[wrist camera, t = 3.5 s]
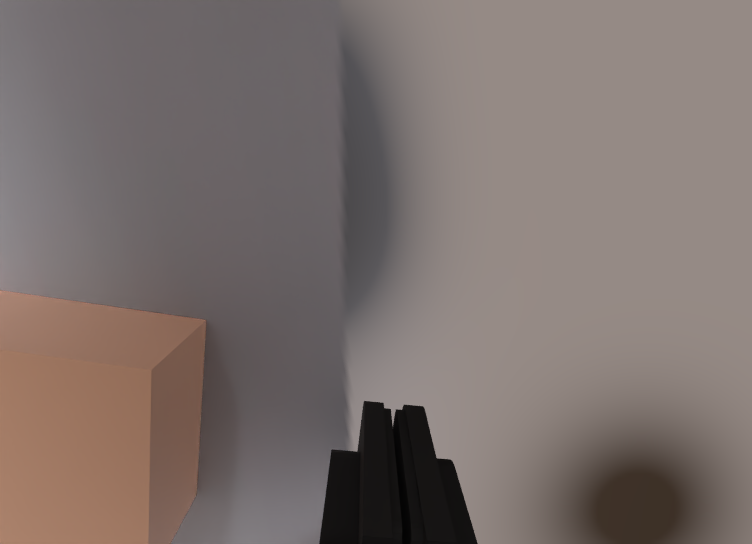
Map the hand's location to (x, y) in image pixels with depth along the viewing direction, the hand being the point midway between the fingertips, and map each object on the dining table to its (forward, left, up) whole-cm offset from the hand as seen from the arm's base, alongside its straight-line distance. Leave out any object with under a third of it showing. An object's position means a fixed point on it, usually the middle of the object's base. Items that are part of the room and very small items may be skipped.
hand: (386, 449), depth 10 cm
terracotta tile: (0, -9, -1) cm, 9 cm away
